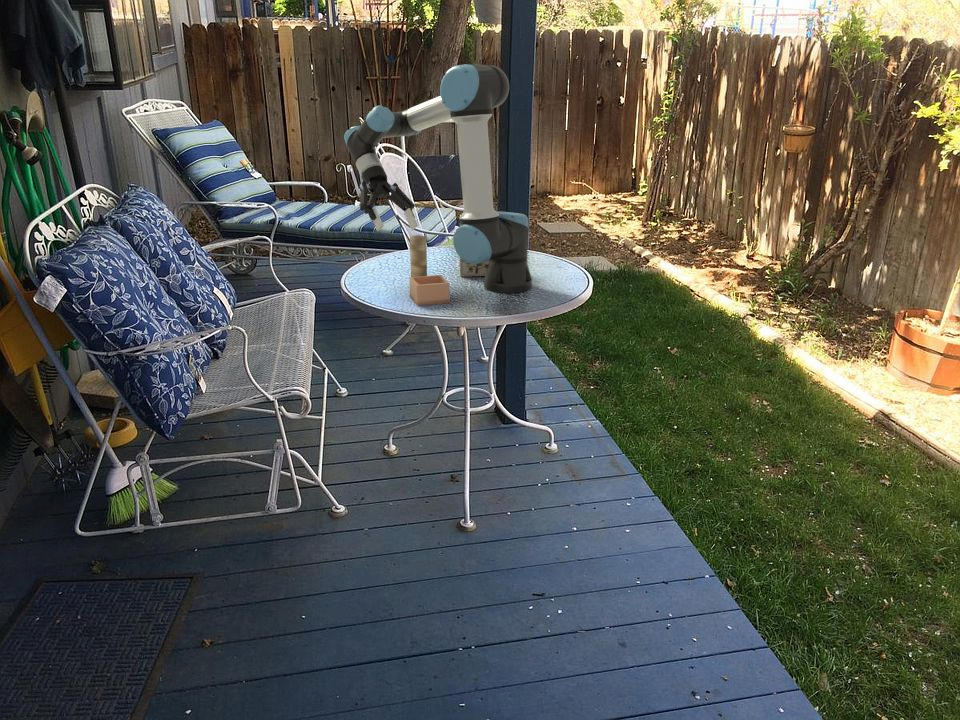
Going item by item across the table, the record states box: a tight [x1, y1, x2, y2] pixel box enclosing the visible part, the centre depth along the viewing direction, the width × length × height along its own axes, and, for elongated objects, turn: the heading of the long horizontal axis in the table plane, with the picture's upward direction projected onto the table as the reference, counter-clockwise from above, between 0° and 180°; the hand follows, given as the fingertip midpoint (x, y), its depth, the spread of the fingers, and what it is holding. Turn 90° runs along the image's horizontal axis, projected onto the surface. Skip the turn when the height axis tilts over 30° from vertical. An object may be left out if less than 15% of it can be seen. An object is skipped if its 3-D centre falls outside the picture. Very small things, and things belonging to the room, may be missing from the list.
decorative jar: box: [459, 256, 490, 278], centre depth 246 cm, size 12×12×18 cm
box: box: [408, 274, 451, 307], centre depth 219 cm, size 10×10×6 cm
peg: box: [409, 234, 428, 277], centre depth 229 cm, size 5×5×16 cm
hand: (398, 228), depth 230 cm, fingers open, 13 cm apart
